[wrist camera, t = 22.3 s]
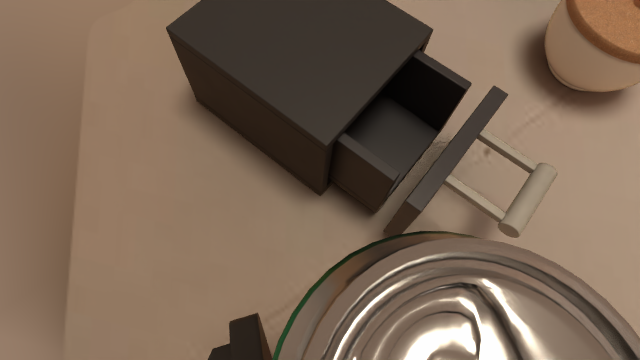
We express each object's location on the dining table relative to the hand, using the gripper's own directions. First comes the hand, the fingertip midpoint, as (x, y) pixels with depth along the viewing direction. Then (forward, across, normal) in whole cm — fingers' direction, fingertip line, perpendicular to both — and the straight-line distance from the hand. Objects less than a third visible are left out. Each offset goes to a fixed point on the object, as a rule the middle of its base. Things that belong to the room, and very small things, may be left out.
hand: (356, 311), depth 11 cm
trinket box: (+26, -32, +2) cm, 41 cm away
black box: (+28, -4, 0) cm, 28 cm away
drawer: (+21, -10, +5) cm, 24 cm away
